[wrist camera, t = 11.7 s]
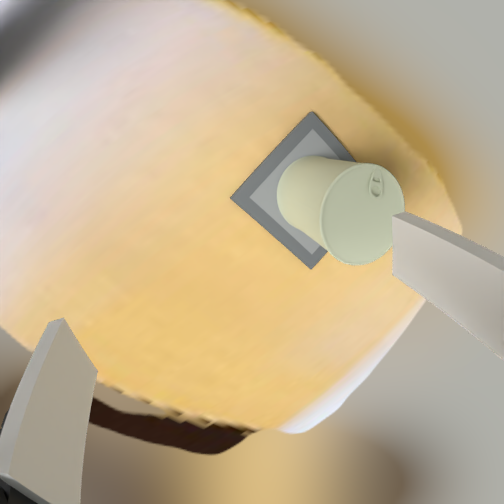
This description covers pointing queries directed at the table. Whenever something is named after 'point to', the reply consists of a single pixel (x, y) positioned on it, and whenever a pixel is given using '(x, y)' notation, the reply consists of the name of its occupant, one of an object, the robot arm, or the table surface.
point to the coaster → (267, 178)
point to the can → (341, 206)
